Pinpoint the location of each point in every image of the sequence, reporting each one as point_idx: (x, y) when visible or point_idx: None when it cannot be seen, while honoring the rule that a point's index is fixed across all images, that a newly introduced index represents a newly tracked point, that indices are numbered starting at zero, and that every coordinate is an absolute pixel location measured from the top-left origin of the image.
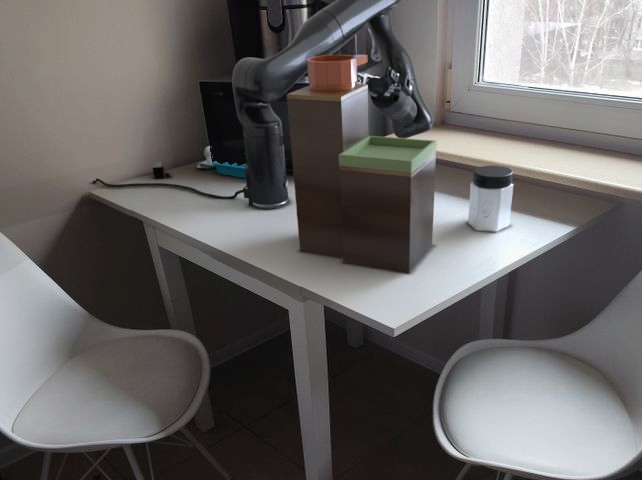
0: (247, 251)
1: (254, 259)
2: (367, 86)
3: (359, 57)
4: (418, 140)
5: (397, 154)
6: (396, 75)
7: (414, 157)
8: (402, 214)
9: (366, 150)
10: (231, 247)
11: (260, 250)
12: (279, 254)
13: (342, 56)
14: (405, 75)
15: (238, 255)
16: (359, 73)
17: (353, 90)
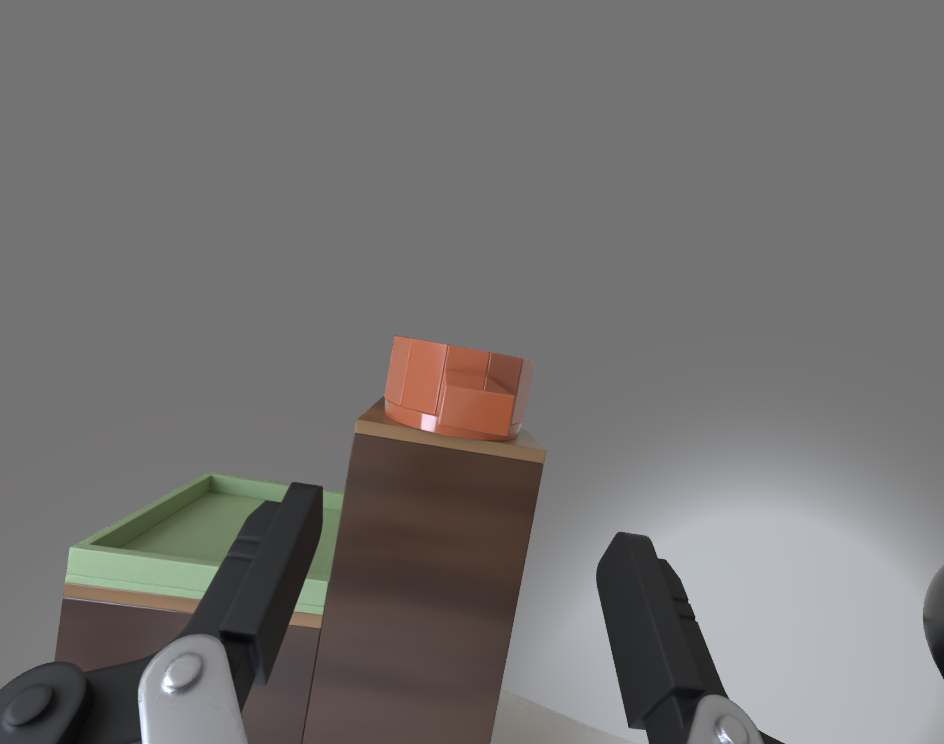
0: (552, 730)
1: (512, 702)
2: (356, 424)
3: (448, 376)
4: (141, 552)
5: (225, 540)
6: (199, 611)
7: (196, 479)
8: None
9: (320, 559)
10: (597, 741)
11: (532, 741)
12: None
13: (462, 352)
14: (52, 666)
15: (553, 711)
16: (686, 736)
17: (377, 404)
